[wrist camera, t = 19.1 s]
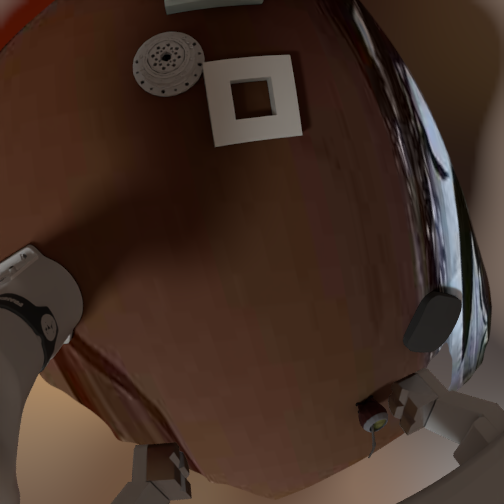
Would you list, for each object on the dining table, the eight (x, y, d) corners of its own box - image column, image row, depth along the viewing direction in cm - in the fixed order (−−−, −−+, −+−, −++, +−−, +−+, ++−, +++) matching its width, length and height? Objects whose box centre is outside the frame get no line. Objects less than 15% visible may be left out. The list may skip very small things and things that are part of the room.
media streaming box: (425, 288, 57) (433, 294, 54) (460, 296, 60) (467, 301, 57) (396, 345, 61) (403, 352, 58) (434, 346, 64) (440, 352, 62)
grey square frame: (214, 147, 40) (215, 147, 38) (202, 67, 36) (202, 62, 34) (296, 135, 42) (302, 135, 39) (285, 59, 37) (290, 54, 35)
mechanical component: (161, 111, 37) (218, 68, 37) (157, 107, 33) (220, 60, 33) (121, 64, 34) (177, 23, 33) (113, 56, 30) (175, 11, 29)
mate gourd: (381, 394, 66) (409, 434, 52) (365, 415, 68) (389, 455, 54) (361, 393, 64) (388, 437, 50) (344, 415, 66) (367, 458, 52)
